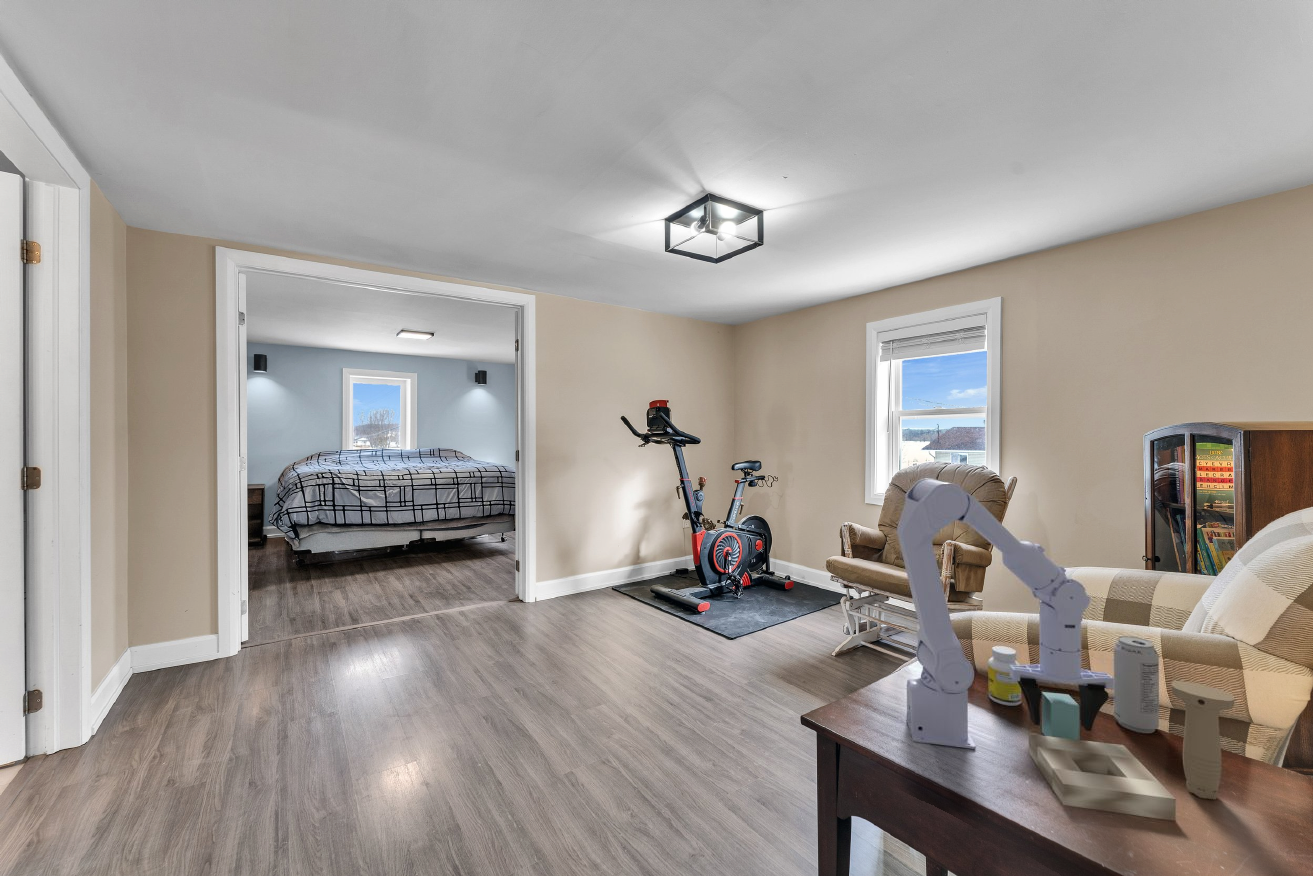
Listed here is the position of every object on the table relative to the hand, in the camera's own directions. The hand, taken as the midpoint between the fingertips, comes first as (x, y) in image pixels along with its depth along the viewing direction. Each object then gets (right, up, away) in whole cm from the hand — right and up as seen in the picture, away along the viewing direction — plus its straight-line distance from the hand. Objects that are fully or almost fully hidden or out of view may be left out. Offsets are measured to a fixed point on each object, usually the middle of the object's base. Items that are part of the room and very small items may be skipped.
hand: (1060, 725), depth 94 cm
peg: (0, -3, 0) cm, 2 cm away
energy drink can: (+16, -2, +4) cm, 17 cm away
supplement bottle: (-1, -2, +14) cm, 14 cm away
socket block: (-3, -3, -12) cm, 12 cm away
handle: (+10, -3, -14) cm, 18 cm away
